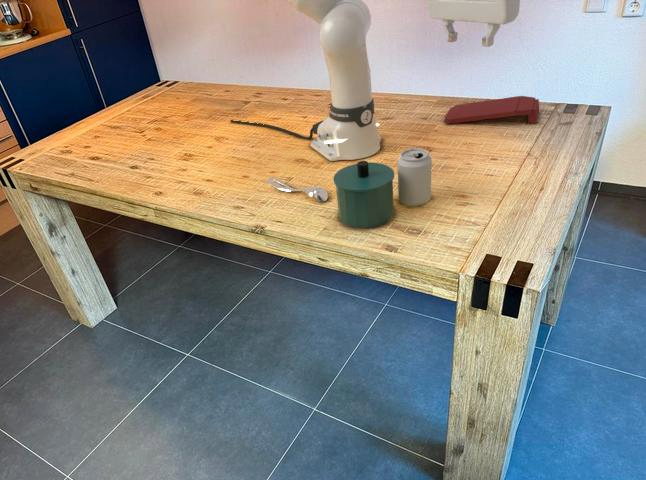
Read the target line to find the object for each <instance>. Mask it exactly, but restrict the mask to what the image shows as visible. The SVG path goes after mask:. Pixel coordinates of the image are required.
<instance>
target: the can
mask: <svg viewBox="0 0 646 480" xmlns="http://www.w3.org/2000/svg"><path fill="white" fill-rule="evenodd" d="M432 164H433V163H432V157H431V156H430V152H429V151H428V150H427V149H425V148H420V147H414V148H408V149H405V150H403V151H402V152H401V153H400V154H399V158H398V159H397V194H398V196H397V197H398V200H399V202H401V203H402V204H403V205H404V206H407V207H420V206H423V205H425V204H426V203H427V202H429V201H430V200H431V198H432Z"/></svg>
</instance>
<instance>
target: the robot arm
mask: <svg viewBox="0 0 646 480" xmlns="http://www.w3.org/2000/svg"><path fill="white" fill-rule="evenodd" d="M287 1H288V2H289V3H290V5H291V6H292V7H293V8H294V9H295V10H296V11H297V12H299V13H302V14H303V15H305V16H307V17H309V18H310V19H312V20H313V21H314V22H315V23H317V24H319V25H320V28H319V43H320V46H321V49H322V52H323V56H324V61H325V65H326V68H327V69H326V70H327V74H328V79H329V85H330V86H329V88H330V96H331V97H330V99H331V103H328V104H326V106H327V107H326V109H329V113H328V116H327V117H326V118H325V119H324V120H323V119H322V120H320V121H318V122H316V123H314V124H312V128H311V129H310V131H309V136H303V135H301V134H299V133H297V132H294V131H291V130H288V129H286V128H282V127H280V126H276V125H271V124H268V123H262V122H254V121H253V122H254V123H249V122H250V121H247V122H241V121H242V120H239V121H233V120H234V119H232V120H231V119H230V122H231V123H236V124H244V125H251V126H258V127H264V128H269V129H272V130H273V129H274V130H278V131H280V132H283V133H286V134H289V135H292V136H295V137H297V138H299V139H302V140H307V141H310V140H311V139H313V136H314V135H317V137H316V138H314V139H313V140H311V142H310V148H312V149H314V150H315V151H316V152H318V153H319V154H320V155H322V156H323V157H325V158H326V159H327V160H329V161H330V162H336V161H353V160H360V159H366V158H368V157H369V158H370V157H371V156H374V155H375V154H377V153H379V151H380V149H381V144H380V143H381V141H382V137H381V136H380V135H379V130H378V127H380V123H378V122H377V116H376V114H375V100H374V98H373V93H372V90H373V89H372V74H371V68H370V63H369V57H368V50H367V41H366V40H367V34H368V32H369V30H370V29H371V24H372V16H371V11H370V9H369V7H368V5H367V3H366V2H364V1H363V0H287ZM520 5H521V0H429V8H428V9H429V10H428V11H429V12H428V13H429V16H430V18H431V19H432V20H442V27H443V29H444V32H445V34H446V42H447V43H455V42H457V41H458V31H455V28H454V24H455V22H466V23H467V22H468V23H478V24H481V23H482V24H487V30H488V32H487V34H486V36H482V39H481V46H482V47H486V48H487V47H488V48H489V47H491V46H493V45H494V41H495V37H496V34H497V33H498V31H499V29H500V28H501V25H502V26H503V25H508V24H510V23H512V22H514V21H515V20H516V19H517V17H518V16H519V12H520ZM257 123H258V124H257ZM263 124H264V125H263Z"/></svg>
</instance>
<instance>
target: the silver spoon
mask: <svg viewBox="0 0 646 480" xmlns="http://www.w3.org/2000/svg"><path fill="white" fill-rule="evenodd" d="M272 181H275V182H272ZM267 184H268V185H270V186H271V187H273V188H275V189H277V190H279V191H282V192H289V193H291V192H304V193H306V194H307V195H308V196H309V197H311V198H312V199H315V200H317V201H319V202H326V201H327V200H328V197H329V193H328V192H327V190H326V189H325V188H324V187H322V186H318V185H315V186H314V185H313V186H309V187H305V188H292V187H291V186H289V185H287V184H286V183H285V182H284V181H282V180H281V179H279V178H278V177H274V176H272V177H271V176H270V177H268V178H267Z"/></svg>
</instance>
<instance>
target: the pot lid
mask: <svg viewBox="0 0 646 480" xmlns="http://www.w3.org/2000/svg"><path fill="white" fill-rule="evenodd" d="M394 179H395V171H394V169H393V168H392V167H391V166H389V165H387V164H384V163H379V162H370V161H369V162H368V161H367V160H360V161H358V162H357V163H353V164H350V165H347V166H344V167H343V168H341V169H339V170H338V171H336V173H335V174H334V175H333V183H334V185H335V187H336V186H337V187H338V188H340V189H343V190H346V191H351V192H366V191H372V190H376V189H379V188H382V187H384V186H386V185H388V184H389V183H390V182H391V181H392V180H394Z"/></svg>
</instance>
